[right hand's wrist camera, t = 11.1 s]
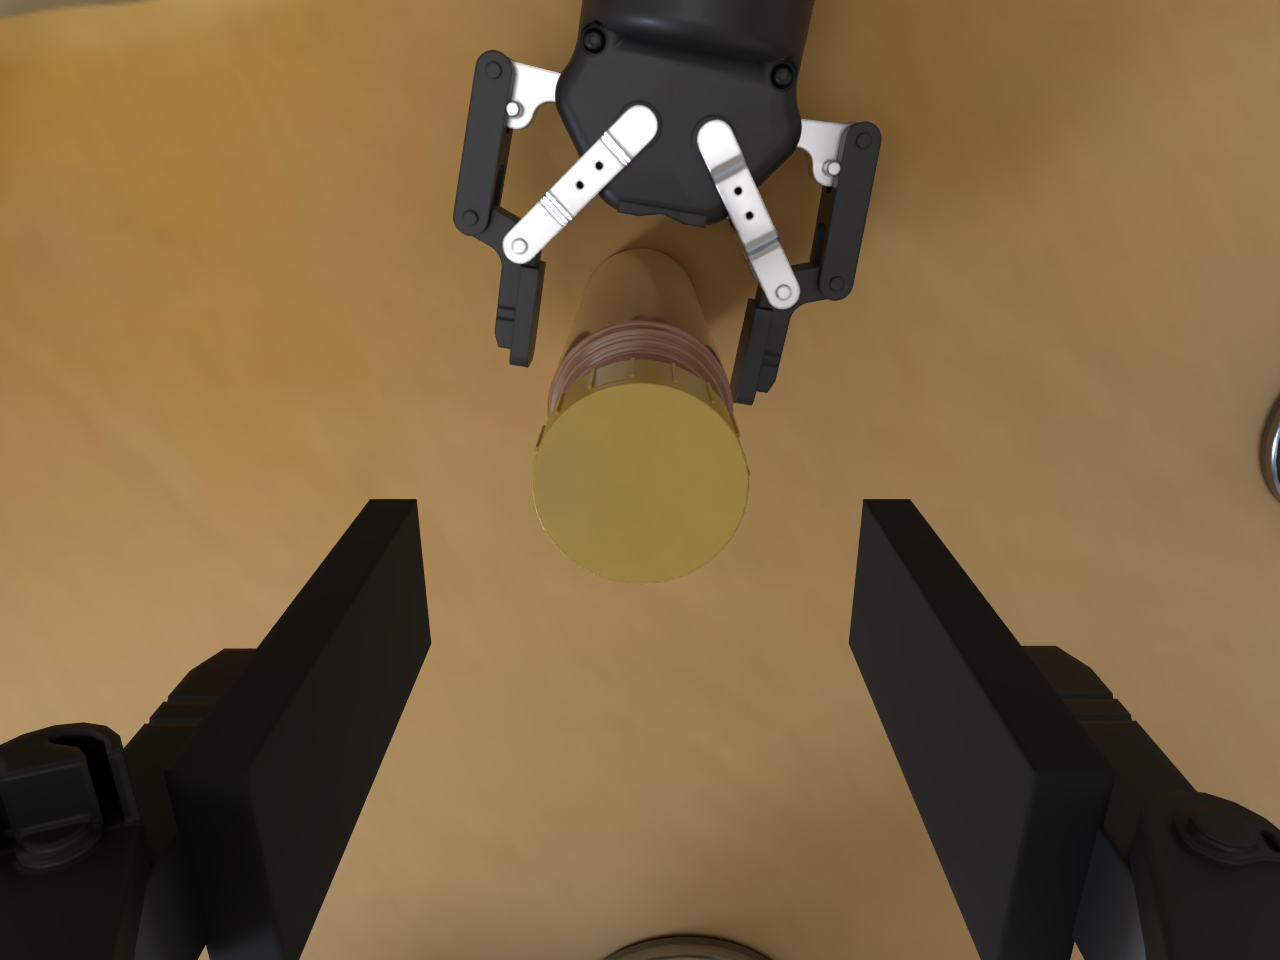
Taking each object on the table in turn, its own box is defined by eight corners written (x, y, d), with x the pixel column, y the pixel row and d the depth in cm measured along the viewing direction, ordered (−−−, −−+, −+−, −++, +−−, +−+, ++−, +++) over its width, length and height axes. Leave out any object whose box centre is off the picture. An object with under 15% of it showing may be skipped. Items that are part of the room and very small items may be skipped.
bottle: (660, 379, 40) (680, 620, 20) (564, 326, 39) (484, 521, 19) (716, 284, 38) (802, 440, 18) (618, 226, 37) (593, 322, 17)
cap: (675, 575, 21) (678, 618, 19) (506, 489, 20) (493, 525, 18) (777, 419, 20) (792, 449, 18) (600, 320, 19) (596, 340, 17)
